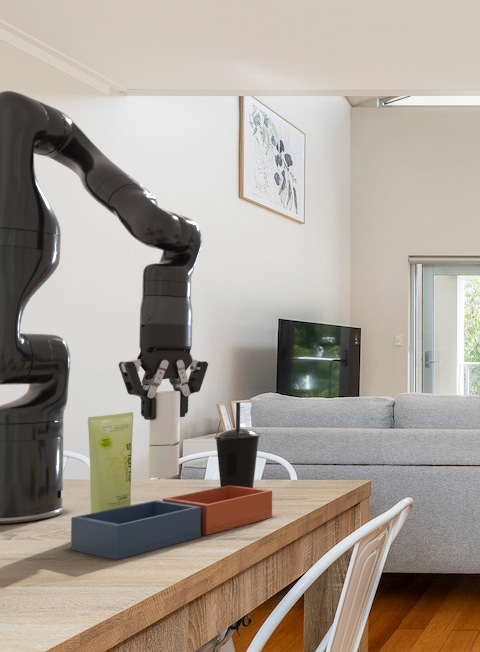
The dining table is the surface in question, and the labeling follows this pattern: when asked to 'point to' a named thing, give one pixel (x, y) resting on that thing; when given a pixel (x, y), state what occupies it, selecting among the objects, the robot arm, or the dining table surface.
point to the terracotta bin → (228, 506)
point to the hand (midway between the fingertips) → (164, 417)
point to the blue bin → (135, 528)
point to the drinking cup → (237, 455)
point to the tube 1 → (110, 461)
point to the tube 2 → (165, 435)
